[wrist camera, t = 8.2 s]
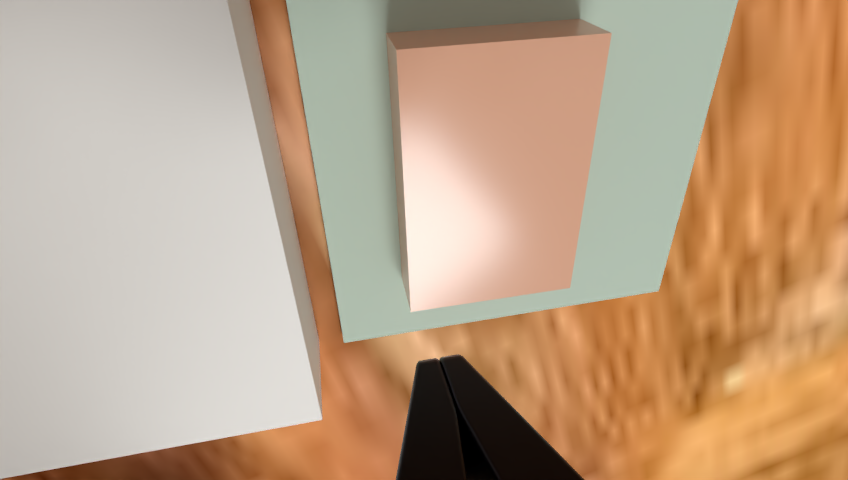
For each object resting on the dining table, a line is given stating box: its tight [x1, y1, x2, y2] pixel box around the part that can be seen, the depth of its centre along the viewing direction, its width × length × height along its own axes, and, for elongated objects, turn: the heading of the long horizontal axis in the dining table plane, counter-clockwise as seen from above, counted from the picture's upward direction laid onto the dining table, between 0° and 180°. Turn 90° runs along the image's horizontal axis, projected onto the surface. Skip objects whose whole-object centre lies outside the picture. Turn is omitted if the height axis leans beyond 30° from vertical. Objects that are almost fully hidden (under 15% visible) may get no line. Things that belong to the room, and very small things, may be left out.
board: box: [0, 0, 322, 479], centre depth 15 cm, size 15×12×4 cm
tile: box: [386, 19, 612, 312], centre depth 17 cm, size 9×6×2 cm, turn 2°
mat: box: [286, 0, 738, 343], centre depth 18 cm, size 15×14×1 cm
